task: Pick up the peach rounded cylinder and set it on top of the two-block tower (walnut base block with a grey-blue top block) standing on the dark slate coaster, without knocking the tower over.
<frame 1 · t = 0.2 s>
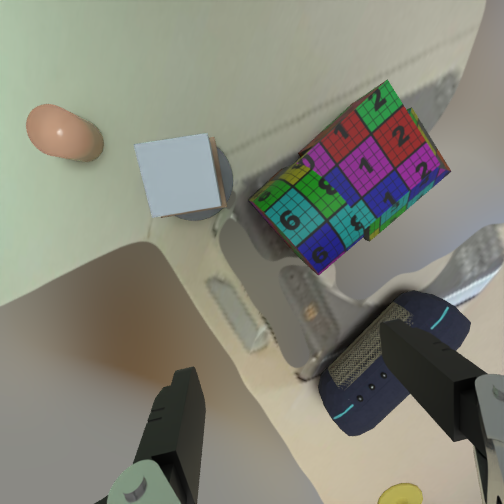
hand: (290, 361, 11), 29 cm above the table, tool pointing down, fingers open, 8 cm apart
walnut base block: (192, 179, 35), point 1 cm above the table, touching grey-blue top block, slate coaster
numbered checker block: (347, 185, 39), on the table
slate coaster: (193, 180, 36), on the table
candle: (399, 500, 55), on the table
portable speaker: (368, 340, 45), on the table
grey-blue top block: (186, 178, 30), point 6 cm above the table, touching walnut base block
peach rounded cylinder: (82, 140, 34), on the table
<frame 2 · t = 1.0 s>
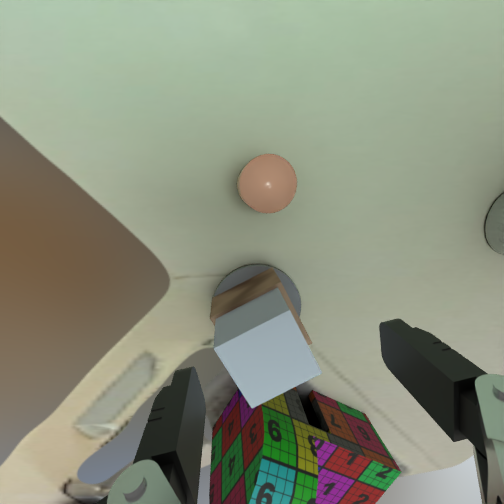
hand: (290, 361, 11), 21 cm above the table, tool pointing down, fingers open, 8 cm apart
walnut base block: (257, 309, 32), point 1 cm above the table, touching grey-blue top block, slate coaster
numbered checker block: (296, 438, 39), on the table
slate coaster: (256, 306, 33), on the table
grey-blue top block: (261, 330, 27), point 6 cm above the table, touching walnut base block
peach rounded cylinder: (260, 185, 29), on the table
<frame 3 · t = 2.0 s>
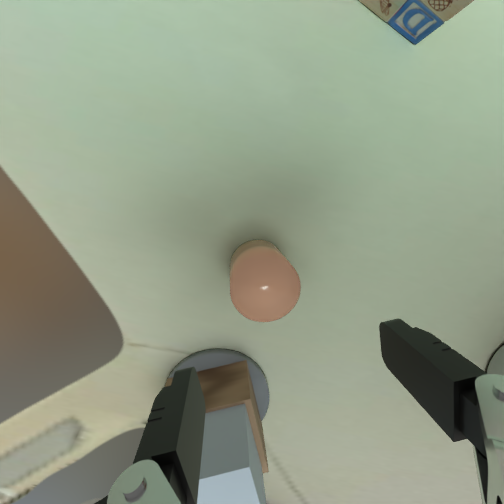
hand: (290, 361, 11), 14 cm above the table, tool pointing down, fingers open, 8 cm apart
walnut base block: (216, 401, 27), point 1 cm above the table, touching grey-blue top block, slate coaster
slate coaster: (216, 394, 28), on the table
grey-blue top block: (213, 446, 22), point 6 cm above the table, touching walnut base block
peach rounded cylinder: (257, 266, 25), on the table
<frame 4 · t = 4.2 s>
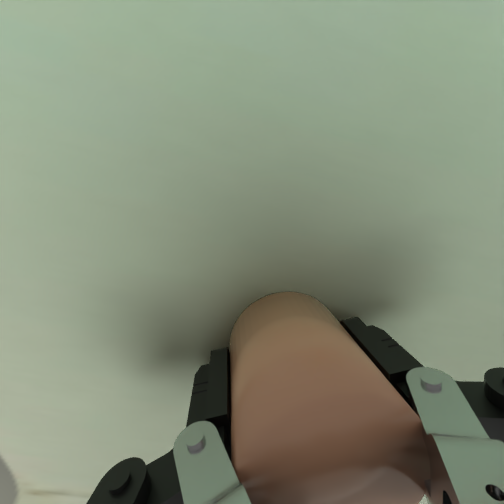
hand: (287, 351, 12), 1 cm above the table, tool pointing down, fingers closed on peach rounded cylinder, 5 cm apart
peach rounded cylinder: (284, 343, 12), on the table, touching gripper
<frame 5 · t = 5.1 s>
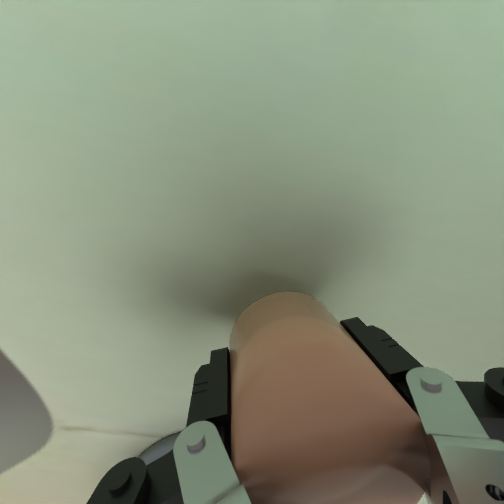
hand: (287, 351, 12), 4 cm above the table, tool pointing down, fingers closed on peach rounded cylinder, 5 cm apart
slate coaster: (203, 490, 19), on the table
peach rounded cylinder: (284, 342, 12), point 3 cm above the table, touching gripper
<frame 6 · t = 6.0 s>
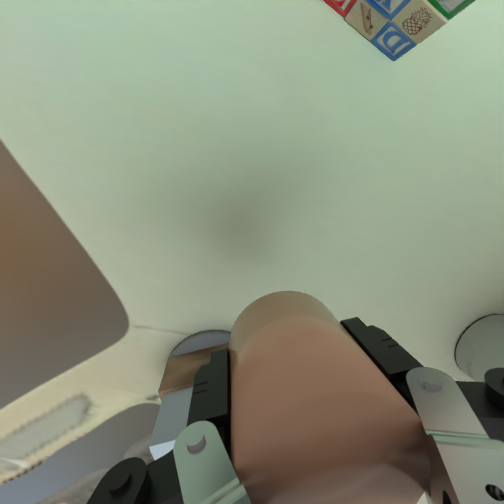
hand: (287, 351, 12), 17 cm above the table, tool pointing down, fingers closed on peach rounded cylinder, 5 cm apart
walnut base block: (213, 378, 30), point 1 cm above the table, touching grey-blue top block, slate coaster
slate coaster: (213, 372, 31), on the table
grey-blue top block: (211, 414, 25), point 6 cm above the table, touching walnut base block
peach rounded cylinder: (284, 342, 12), point 16 cm above the table, touching gripper
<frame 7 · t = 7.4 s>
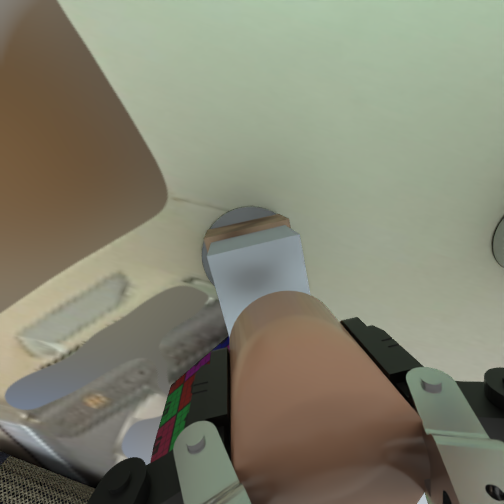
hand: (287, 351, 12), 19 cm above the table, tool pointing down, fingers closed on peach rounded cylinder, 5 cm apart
walnut base block: (250, 256, 30), point 1 cm above the table, touching slate coaster
numbered checker block: (251, 421, 37), on the table
slate coaster: (250, 253, 31), on the table
portable speaker: (61, 482, 36), on the table
grey-blue top block: (256, 269, 25), point 6 cm above the table
peach rounded cylinder: (284, 342, 12), point 19 cm above the table, touching gripper
when the fingers open (13 cm above the table, at t = 9.7 s): peach rounded cylinder drops 1 cm, resting on grey-blue top block.
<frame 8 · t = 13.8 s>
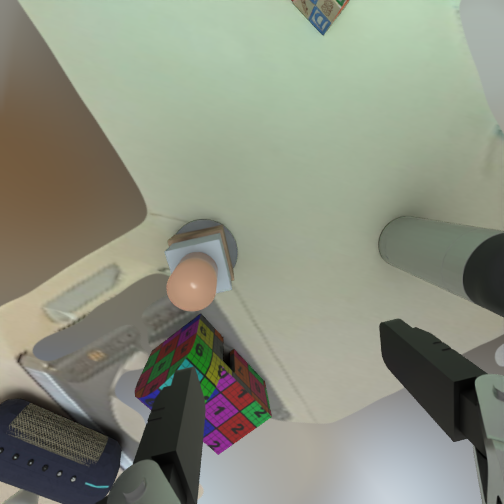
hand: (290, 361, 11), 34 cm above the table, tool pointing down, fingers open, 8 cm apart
walnut base block: (204, 253, 43), point 1 cm above the table, touching grey-blue top block, slate coaster
numbered checker block: (209, 382, 51), on the table
slate coaster: (204, 251, 44), on the table
portable speaker: (67, 425, 50), on the table
grey-blue top block: (202, 260, 38), point 6 cm above the table, touching peach rounded cylinder, walnut base block
peach rounded cylinder: (197, 271, 33), point 11 cm above the table, touching grey-blue top block
lightbulb: (46, 467, 52), on the table
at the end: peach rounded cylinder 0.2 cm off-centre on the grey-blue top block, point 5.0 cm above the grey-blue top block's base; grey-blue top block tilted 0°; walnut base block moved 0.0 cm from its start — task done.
